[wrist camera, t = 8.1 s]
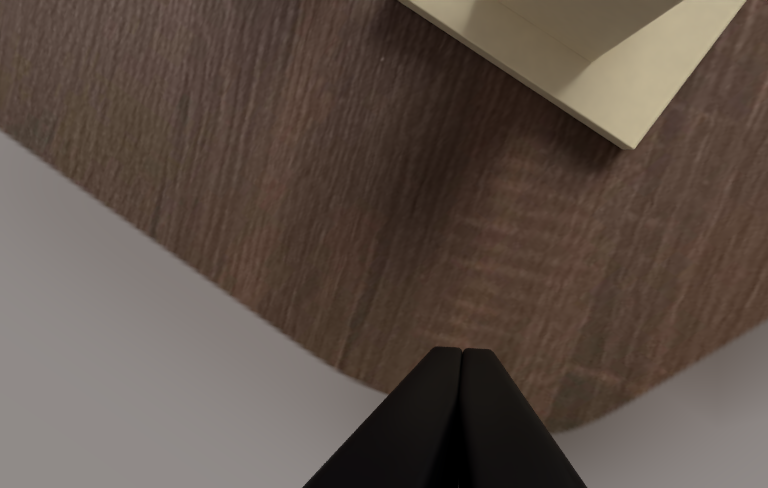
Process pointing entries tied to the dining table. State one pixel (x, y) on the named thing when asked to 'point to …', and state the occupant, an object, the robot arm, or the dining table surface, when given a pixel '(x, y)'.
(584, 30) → the red knob lever base
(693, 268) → the dining table surface
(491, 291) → the dining table surface
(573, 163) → the dining table surface
